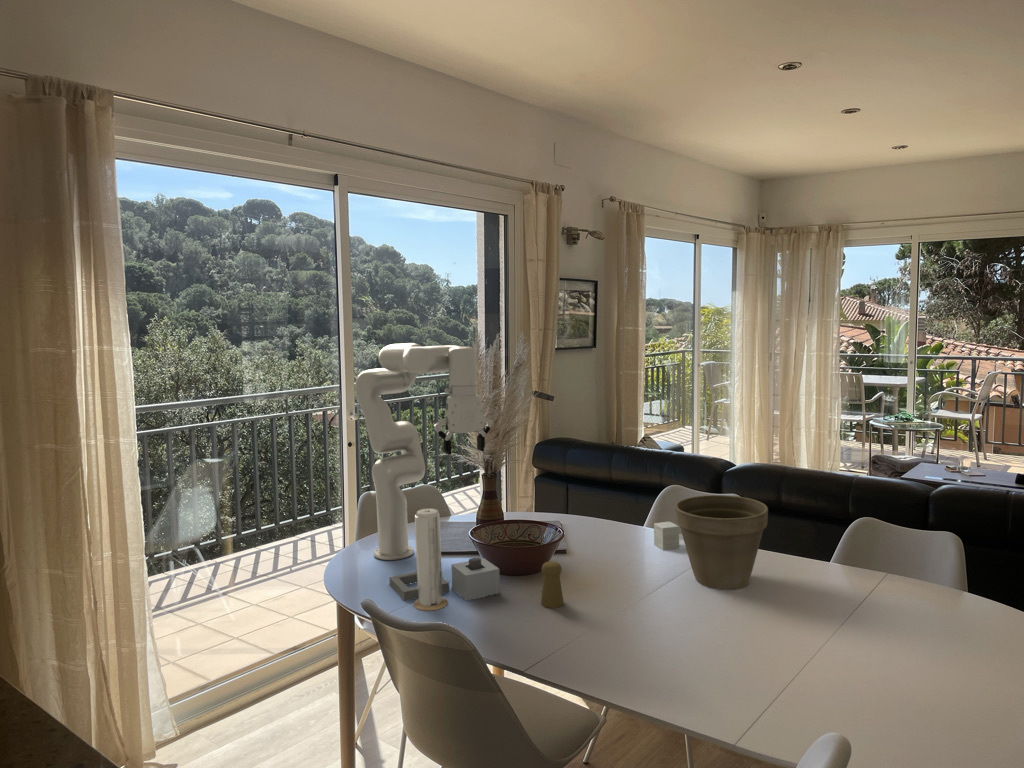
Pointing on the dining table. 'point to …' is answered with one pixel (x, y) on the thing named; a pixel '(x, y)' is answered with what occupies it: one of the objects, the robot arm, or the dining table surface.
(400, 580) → the collar
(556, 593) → the pepper shaker
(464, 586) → the housing
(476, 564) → the plunger
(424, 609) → the pad
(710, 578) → the plant pot
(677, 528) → the grey cube
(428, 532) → the air filter
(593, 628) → the dining table surface
